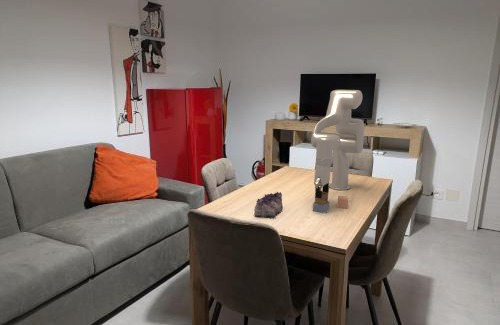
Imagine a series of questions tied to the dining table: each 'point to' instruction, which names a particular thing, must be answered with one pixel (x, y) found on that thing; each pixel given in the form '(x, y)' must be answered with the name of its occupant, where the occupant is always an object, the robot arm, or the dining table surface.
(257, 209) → the geode
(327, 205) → the blue-grey square box
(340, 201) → the terracotta cube
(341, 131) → the robot arm
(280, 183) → the dining table surface
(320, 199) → the walnut cube
